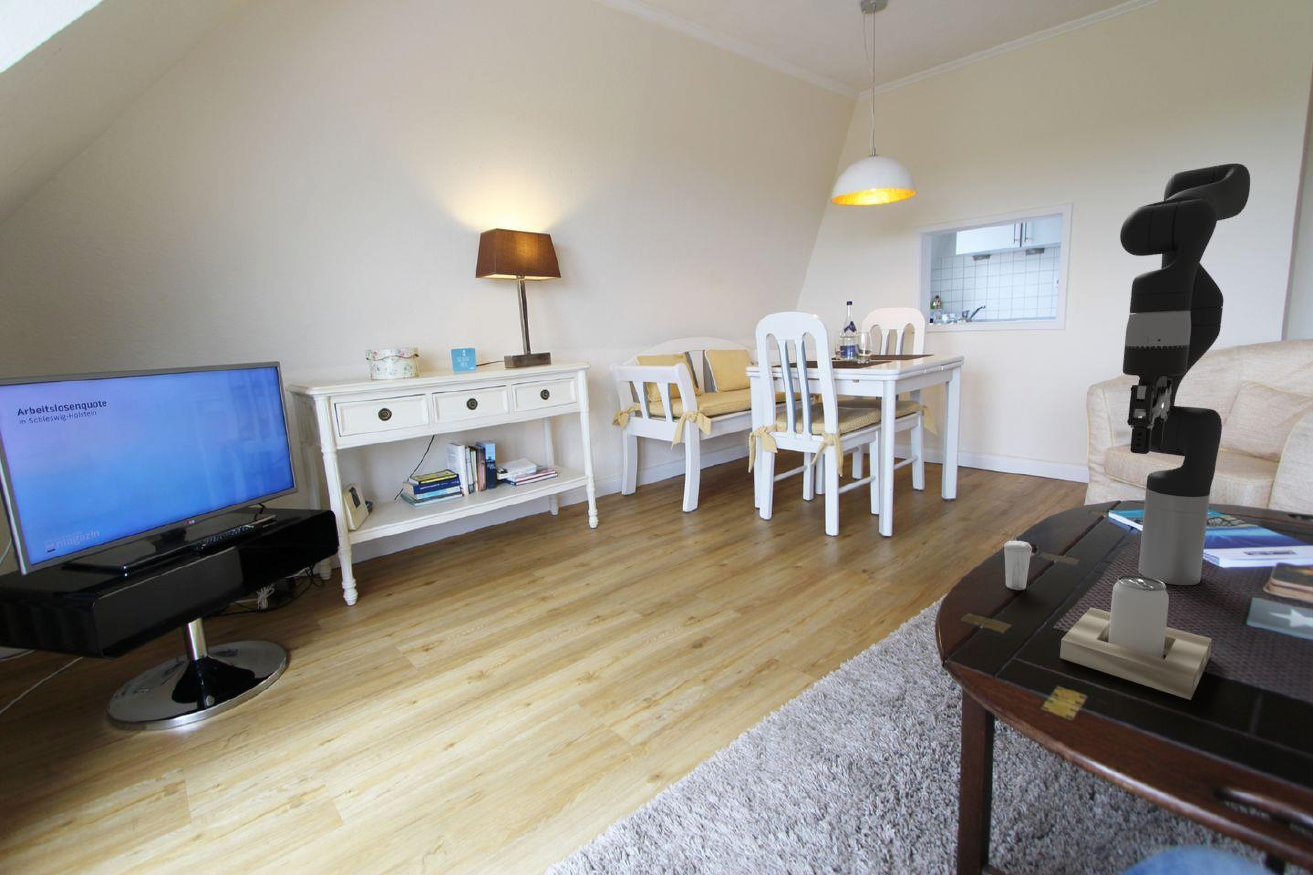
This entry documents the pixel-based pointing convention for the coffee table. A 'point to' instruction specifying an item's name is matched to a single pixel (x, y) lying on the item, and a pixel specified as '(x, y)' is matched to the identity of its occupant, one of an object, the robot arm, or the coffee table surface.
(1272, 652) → the coffee table surface
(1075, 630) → the socket block
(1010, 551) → the milkshake
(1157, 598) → the can
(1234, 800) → the coffee table surface
